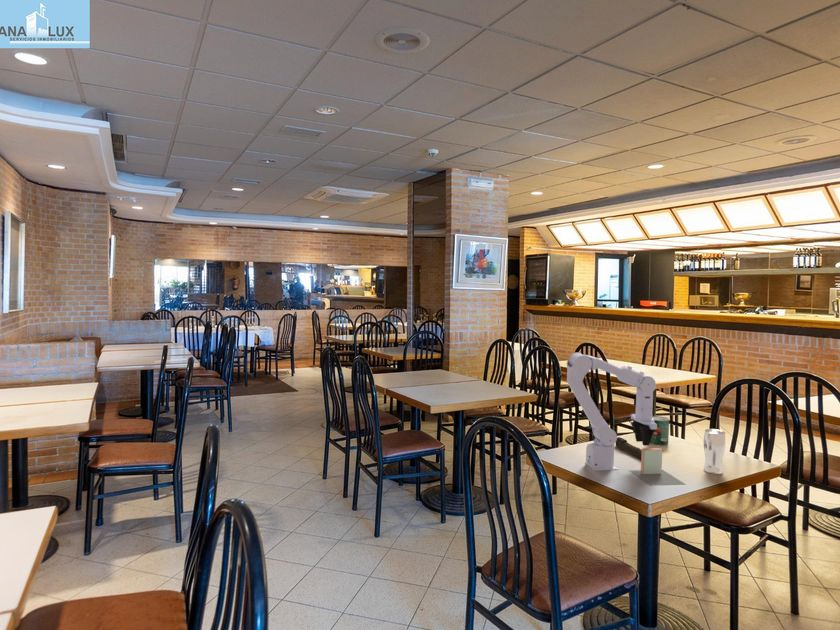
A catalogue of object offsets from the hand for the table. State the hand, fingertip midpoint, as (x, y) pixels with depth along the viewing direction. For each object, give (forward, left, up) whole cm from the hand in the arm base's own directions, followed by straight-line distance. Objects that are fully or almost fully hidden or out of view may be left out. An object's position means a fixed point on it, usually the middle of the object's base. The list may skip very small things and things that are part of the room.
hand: (642, 443), depth 192 cm
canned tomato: (+24, +29, -10) cm, 39 cm away
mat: (0, -10, -9) cm, 14 cm away
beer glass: (+25, -5, -10) cm, 27 cm away
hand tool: (+4, +17, -10) cm, 20 cm away
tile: (0, -6, -9) cm, 11 cm away
